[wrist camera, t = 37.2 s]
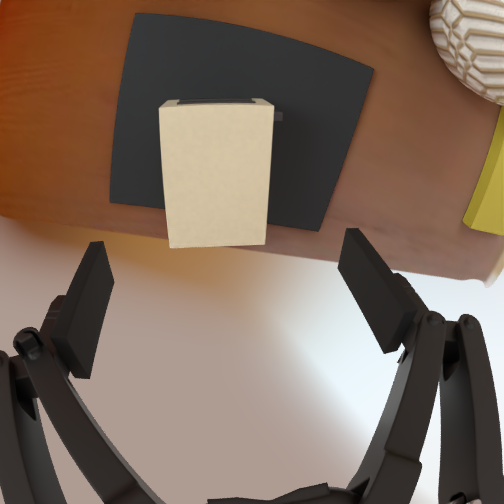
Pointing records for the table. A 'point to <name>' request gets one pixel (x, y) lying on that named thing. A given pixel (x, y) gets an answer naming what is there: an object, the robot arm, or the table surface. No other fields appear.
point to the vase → (472, 43)
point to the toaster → (216, 170)
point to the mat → (238, 86)
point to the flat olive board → (490, 188)
